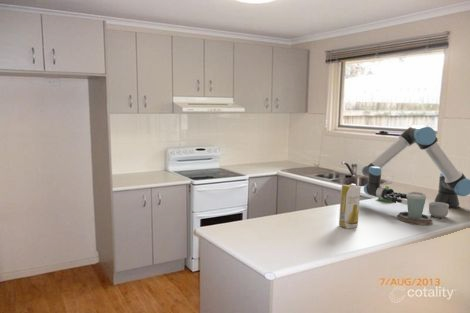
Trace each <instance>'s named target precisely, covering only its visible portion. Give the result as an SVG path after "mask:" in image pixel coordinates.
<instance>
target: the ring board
mask: <svg viewBox="0 0 470 313" xmlns="http://www.w3.org/2000/svg"><path fill="white" fill-rule="evenodd" d="M396 219H397V220H399V221H400V222H403V223H405V224H411V225H417V226H428V225H432V224H433V219H432V217H431V216H430V215H428V214H424V213H422V217H421V219H412V218H409V216H408V211H400V212H399V213H398V214H397V215H396Z"/></svg>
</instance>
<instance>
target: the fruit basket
mask: <svg viewBox="0 0 470 313" xmlns="http://www.w3.org/2000/svg"><path fill="white" fill-rule="evenodd" d="M383 187H386V188H389V189H391V188H390V187H389V185H385V186H383ZM377 199H378V200H379V201H383V202H391V201H388V200H385V199H380V198H378V197H377ZM391 203H392V202H391Z"/></svg>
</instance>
